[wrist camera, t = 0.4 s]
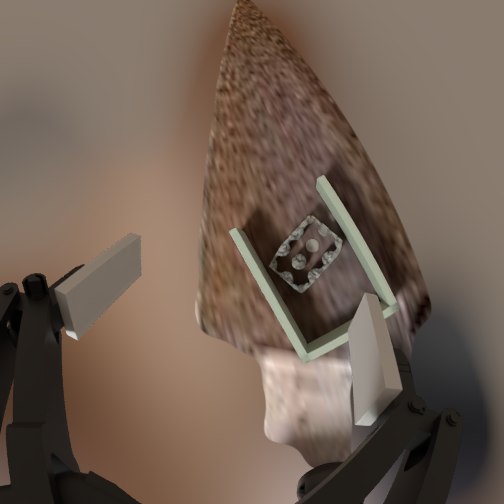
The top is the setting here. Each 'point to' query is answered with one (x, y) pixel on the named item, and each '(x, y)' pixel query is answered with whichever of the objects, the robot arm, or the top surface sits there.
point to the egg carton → (311, 246)
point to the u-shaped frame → (276, 301)
